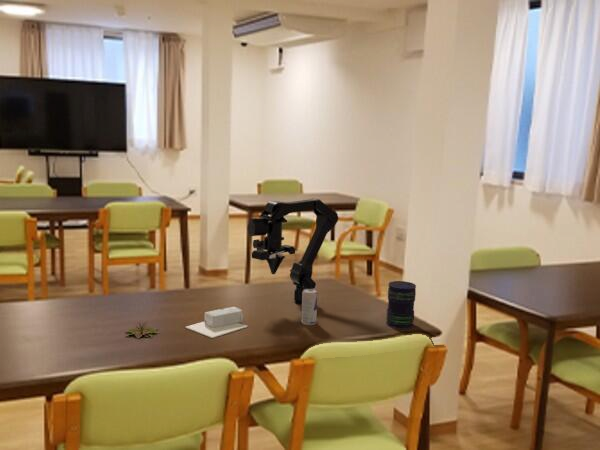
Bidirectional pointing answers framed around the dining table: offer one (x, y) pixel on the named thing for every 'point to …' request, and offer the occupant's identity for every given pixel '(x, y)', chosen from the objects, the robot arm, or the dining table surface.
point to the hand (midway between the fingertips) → (273, 274)
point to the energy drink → (309, 307)
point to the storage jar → (401, 304)
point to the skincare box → (223, 317)
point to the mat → (215, 329)
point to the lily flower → (141, 330)
